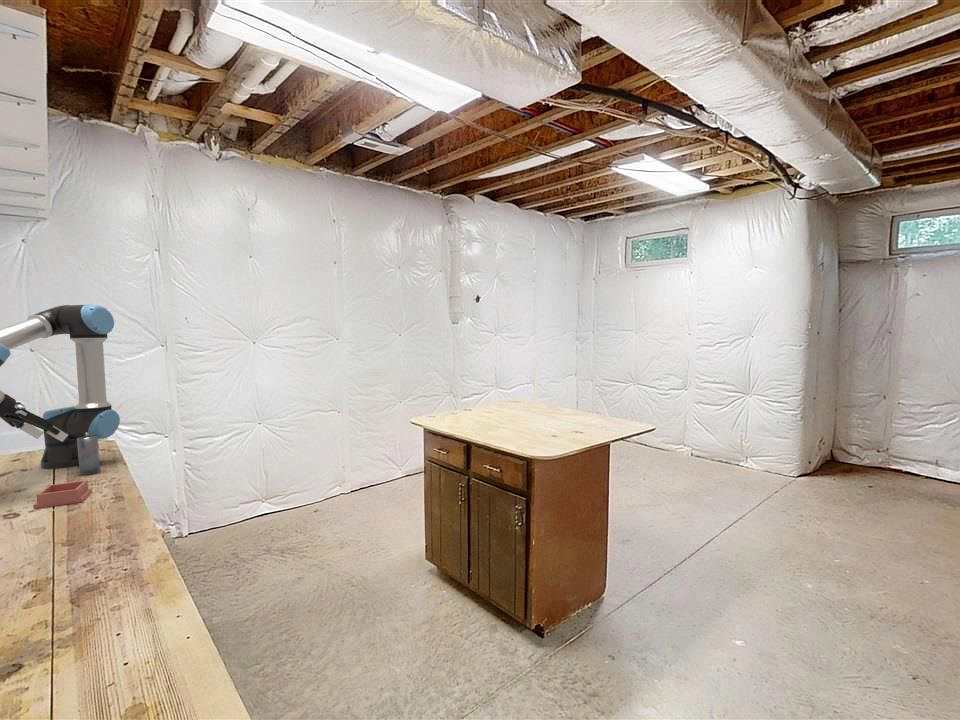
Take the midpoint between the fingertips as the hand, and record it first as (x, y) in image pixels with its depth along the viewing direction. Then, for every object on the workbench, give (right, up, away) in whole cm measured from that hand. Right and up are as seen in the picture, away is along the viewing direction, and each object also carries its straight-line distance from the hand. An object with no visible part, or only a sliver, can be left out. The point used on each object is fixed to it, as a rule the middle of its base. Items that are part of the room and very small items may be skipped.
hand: (52, 436), depth 167 cm
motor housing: (+4, -16, +12) cm, 20 cm away
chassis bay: (+18, -18, -16) cm, 30 cm away
